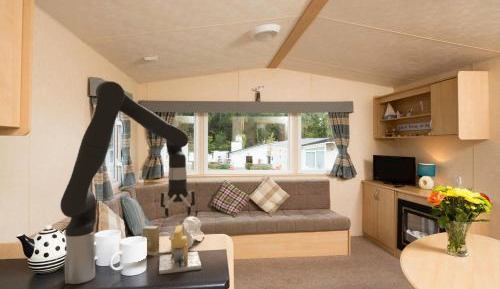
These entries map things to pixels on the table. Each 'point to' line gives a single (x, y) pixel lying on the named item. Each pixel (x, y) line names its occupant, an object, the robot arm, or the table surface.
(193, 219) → the cherub figurine
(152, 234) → the skincare box
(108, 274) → the table surface
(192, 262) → the post base
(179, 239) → the yellow irregular block
